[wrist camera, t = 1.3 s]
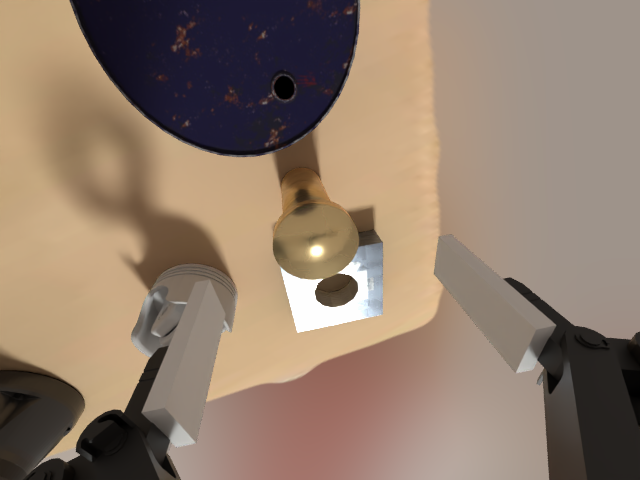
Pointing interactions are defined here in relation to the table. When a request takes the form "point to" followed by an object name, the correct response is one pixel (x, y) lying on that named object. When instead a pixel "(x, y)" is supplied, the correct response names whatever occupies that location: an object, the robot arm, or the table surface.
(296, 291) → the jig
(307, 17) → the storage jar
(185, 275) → the engine component
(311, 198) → the brass flared knob
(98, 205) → the table surface
